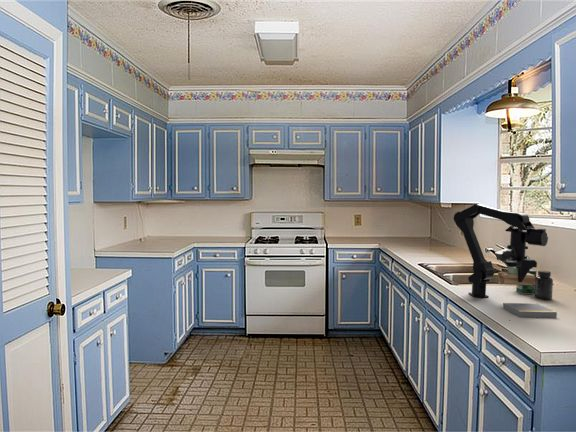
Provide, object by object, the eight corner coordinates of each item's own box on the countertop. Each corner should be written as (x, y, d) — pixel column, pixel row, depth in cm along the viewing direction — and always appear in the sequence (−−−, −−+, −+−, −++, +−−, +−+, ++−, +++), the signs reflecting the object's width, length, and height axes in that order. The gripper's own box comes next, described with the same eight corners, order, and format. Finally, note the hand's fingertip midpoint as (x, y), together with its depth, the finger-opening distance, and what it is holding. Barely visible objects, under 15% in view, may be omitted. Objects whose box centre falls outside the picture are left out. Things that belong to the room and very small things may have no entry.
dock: (502, 307, 171) (503, 302, 171) (537, 308, 171) (537, 303, 171) (519, 316, 159) (519, 311, 159) (556, 317, 160) (556, 312, 159)
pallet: (497, 281, 180) (498, 271, 179) (525, 281, 180) (526, 272, 180) (505, 284, 174) (505, 274, 173) (534, 284, 174) (534, 275, 174)
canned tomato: (521, 289, 204) (522, 266, 203) (538, 293, 198) (539, 269, 197) (512, 291, 199) (514, 268, 199) (530, 295, 193) (531, 271, 192)
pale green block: (507, 272, 178) (507, 266, 178) (519, 272, 178) (519, 266, 178) (512, 274, 174) (513, 268, 174) (524, 274, 174) (525, 268, 174)
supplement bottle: (545, 296, 192) (547, 269, 191) (555, 300, 185) (557, 273, 185) (530, 295, 192) (532, 269, 191) (540, 299, 185) (541, 272, 184)
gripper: (487, 240, 185) (485, 275, 186) (510, 246, 166) (508, 285, 167) (512, 240, 185) (510, 276, 186) (539, 246, 166) (536, 285, 167)
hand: (515, 280), depth 177 cm, fingers closed on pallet, 6 cm apart
